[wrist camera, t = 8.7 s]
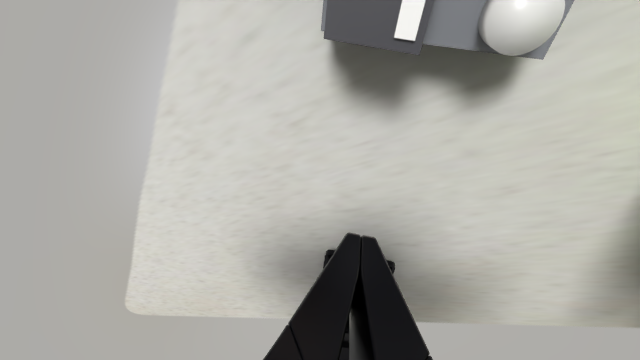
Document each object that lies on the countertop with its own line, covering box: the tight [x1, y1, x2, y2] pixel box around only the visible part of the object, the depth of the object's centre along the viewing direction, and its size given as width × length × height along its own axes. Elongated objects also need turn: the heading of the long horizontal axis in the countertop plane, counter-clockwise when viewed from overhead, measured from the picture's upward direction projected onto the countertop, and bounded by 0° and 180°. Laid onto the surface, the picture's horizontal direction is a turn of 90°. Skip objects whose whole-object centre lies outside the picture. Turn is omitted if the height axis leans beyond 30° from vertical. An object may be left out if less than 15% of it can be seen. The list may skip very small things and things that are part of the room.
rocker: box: [324, 0, 435, 55], centre depth 11 cm, size 3×4×2 cm
